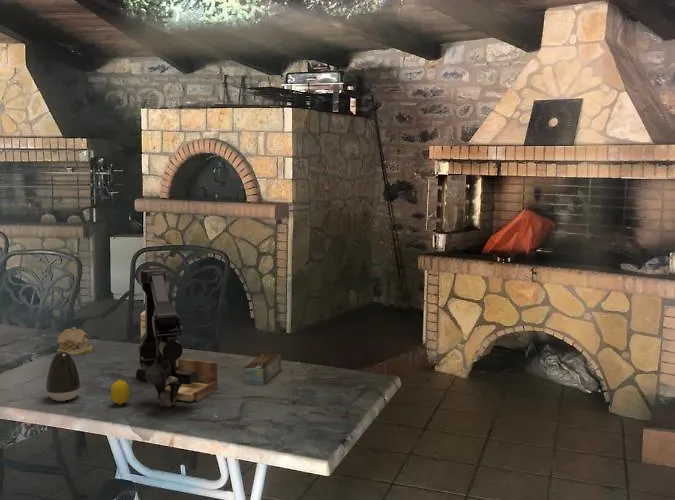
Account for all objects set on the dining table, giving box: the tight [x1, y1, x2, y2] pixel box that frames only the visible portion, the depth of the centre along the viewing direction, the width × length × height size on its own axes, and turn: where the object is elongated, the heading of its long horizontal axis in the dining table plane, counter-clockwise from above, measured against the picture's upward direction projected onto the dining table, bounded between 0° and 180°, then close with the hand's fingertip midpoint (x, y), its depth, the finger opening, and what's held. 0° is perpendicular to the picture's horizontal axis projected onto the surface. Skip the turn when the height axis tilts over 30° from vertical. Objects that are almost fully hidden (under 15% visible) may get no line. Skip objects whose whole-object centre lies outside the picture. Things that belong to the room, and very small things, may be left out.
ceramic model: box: [56, 326, 94, 356], centre depth 265 cm, size 14×11×10 cm
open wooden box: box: [165, 358, 219, 403], centre depth 217 cm, size 14×13×9 cm
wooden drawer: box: [159, 383, 208, 407], centre depth 212 cm, size 11×17×4 cm, turn 162°
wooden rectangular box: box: [242, 352, 282, 386], centre depth 235 cm, size 8×19×6 cm, turn 166°
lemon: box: [110, 379, 131, 406], centre depth 206 cm, size 6×6×8 cm
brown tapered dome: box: [45, 351, 82, 402], centre depth 210 cm, size 10×10×15 cm
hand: (167, 401), depth 206 cm, fingers closed on wooden drawer, 3 cm apart
